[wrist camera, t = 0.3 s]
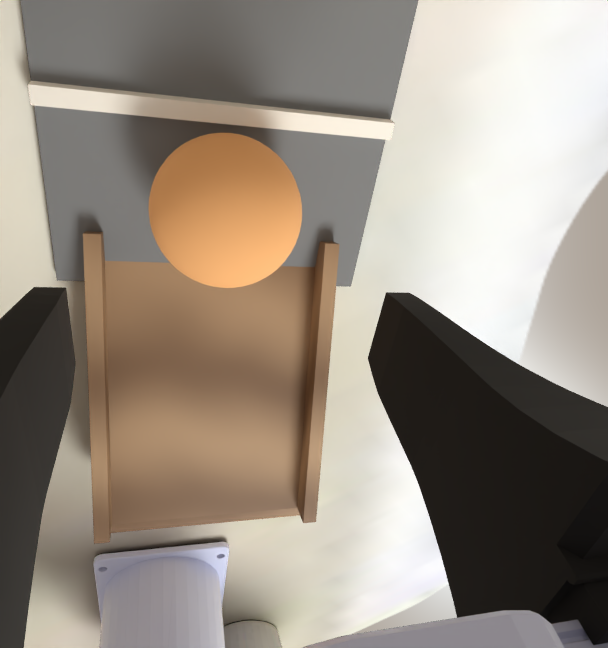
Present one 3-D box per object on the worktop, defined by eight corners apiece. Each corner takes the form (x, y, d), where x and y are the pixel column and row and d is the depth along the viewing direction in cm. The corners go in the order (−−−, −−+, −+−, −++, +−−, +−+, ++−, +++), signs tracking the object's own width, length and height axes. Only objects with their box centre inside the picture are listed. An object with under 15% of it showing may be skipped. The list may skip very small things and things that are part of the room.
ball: (278, 247, 22) (304, 317, 18) (150, 242, 20) (147, 316, 16) (296, 120, 19) (331, 172, 15) (148, 106, 18) (144, 157, 14)
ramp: (285, 442, 31) (309, 546, 26) (109, 452, 28) (97, 569, 23) (327, 222, 23) (374, 306, 18) (89, 209, 20) (64, 303, 15)
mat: (348, 281, 24) (371, 326, 21) (58, 274, 21) (43, 326, 18) (435, -97, 16) (489, -101, 14) (-2, -196, 13) (-44, -226, 11)
